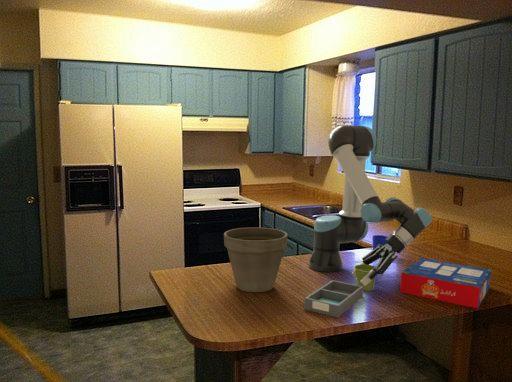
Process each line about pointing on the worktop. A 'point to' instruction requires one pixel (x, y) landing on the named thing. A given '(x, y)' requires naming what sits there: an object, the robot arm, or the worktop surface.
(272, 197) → the worktop surface
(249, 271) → the plant pot
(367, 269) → the plant pot
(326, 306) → the tray
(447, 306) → the worktop surface
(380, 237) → the mug
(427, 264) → the pasta box
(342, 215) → the robot arm
